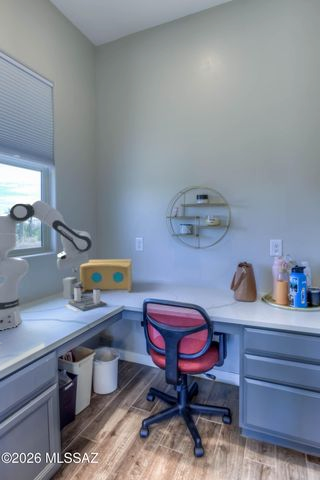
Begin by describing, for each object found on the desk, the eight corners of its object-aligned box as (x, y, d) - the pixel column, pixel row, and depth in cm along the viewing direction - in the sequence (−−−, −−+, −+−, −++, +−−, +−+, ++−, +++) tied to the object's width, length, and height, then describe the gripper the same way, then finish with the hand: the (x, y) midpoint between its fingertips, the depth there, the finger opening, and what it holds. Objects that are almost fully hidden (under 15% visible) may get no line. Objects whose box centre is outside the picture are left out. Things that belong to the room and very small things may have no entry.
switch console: (76, 312, 177) (76, 308, 177) (62, 305, 193) (62, 301, 193) (106, 305, 192) (106, 301, 192) (91, 298, 208) (91, 295, 208)
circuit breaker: (80, 299, 207) (79, 279, 206) (63, 298, 210) (62, 279, 209) (84, 296, 214) (84, 277, 213) (68, 295, 217) (67, 277, 216)
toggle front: (96, 304, 189) (95, 288, 188) (93, 302, 192) (92, 287, 191) (100, 303, 191) (100, 287, 190) (97, 301, 194) (96, 286, 193)
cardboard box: (131, 285, 249) (131, 259, 247) (129, 293, 223) (129, 264, 221) (87, 286, 247) (86, 259, 245) (80, 294, 221) (79, 264, 219)
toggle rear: (76, 302, 194) (76, 287, 193) (74, 300, 197) (73, 286, 196) (81, 301, 196) (80, 286, 195) (78, 299, 199) (77, 285, 198)
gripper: (85, 247, 185) (89, 266, 189) (54, 255, 176) (59, 274, 180) (88, 250, 180) (91, 269, 184) (56, 258, 170) (61, 278, 175)
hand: (75, 272), depth 182 cm, fingers closed
